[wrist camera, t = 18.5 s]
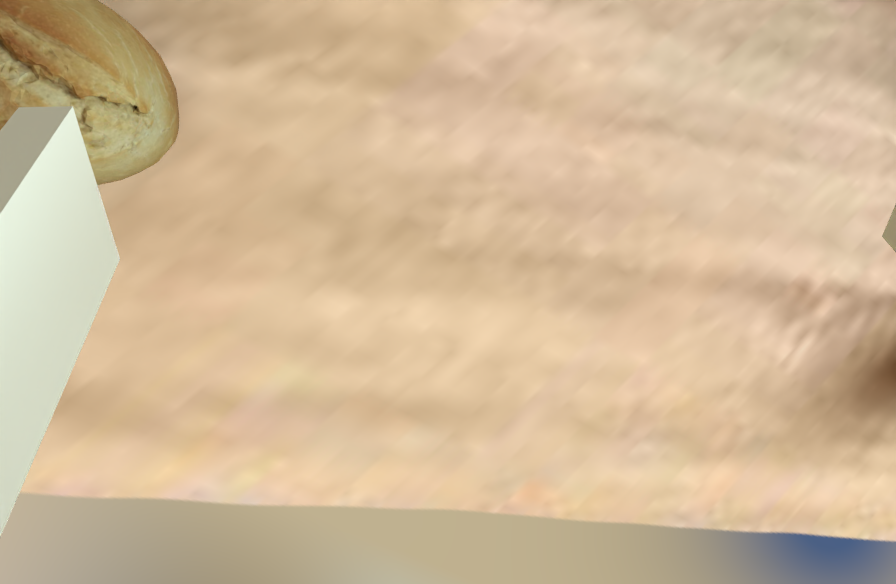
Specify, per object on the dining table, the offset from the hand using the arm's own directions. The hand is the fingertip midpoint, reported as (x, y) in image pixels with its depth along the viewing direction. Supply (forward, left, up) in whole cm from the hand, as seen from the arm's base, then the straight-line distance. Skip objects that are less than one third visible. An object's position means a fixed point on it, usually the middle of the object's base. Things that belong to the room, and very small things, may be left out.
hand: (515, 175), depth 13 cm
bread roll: (-10, -11, -36) cm, 39 cm away
